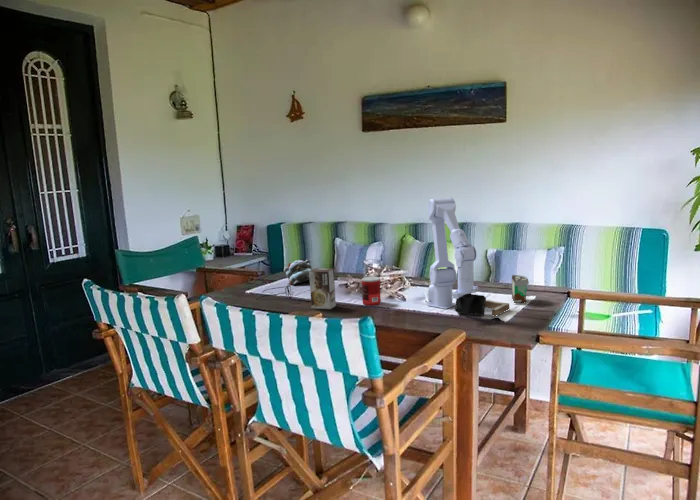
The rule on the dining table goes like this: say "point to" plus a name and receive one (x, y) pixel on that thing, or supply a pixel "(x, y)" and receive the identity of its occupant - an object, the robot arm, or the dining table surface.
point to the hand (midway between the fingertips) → (465, 313)
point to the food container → (519, 288)
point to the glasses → (280, 293)
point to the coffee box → (322, 288)
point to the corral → (497, 306)
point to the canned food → (371, 291)
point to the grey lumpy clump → (298, 271)
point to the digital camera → (474, 305)
